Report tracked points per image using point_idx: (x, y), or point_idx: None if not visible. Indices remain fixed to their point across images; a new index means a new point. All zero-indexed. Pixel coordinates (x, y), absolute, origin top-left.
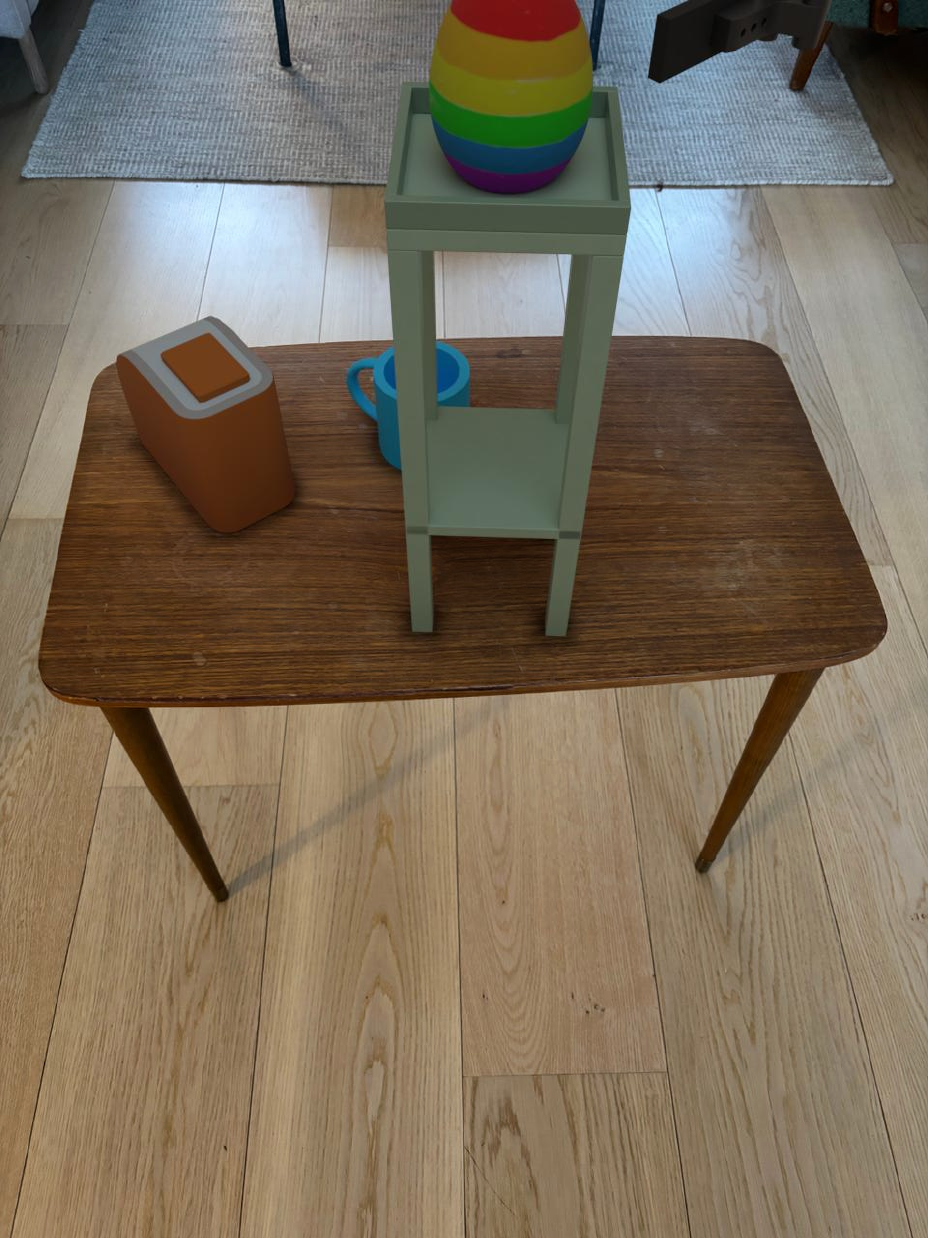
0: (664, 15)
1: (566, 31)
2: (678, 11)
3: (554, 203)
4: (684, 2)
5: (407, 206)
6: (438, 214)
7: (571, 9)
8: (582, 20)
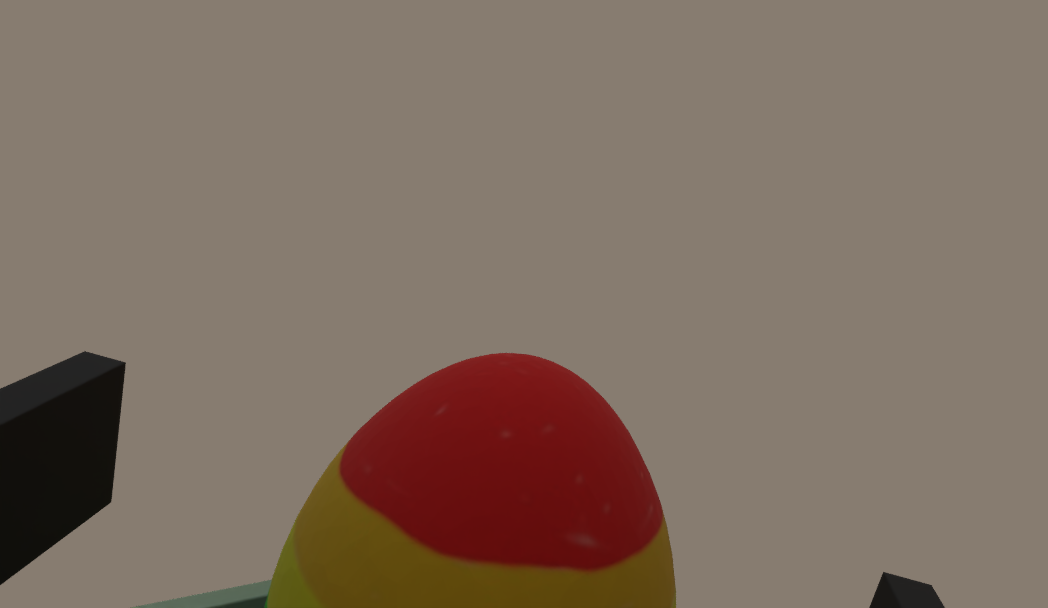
0: (103, 363)
1: (349, 441)
2: (64, 373)
3: (246, 587)
4: (47, 397)
5: None
6: None
7: (367, 444)
8: (347, 511)
